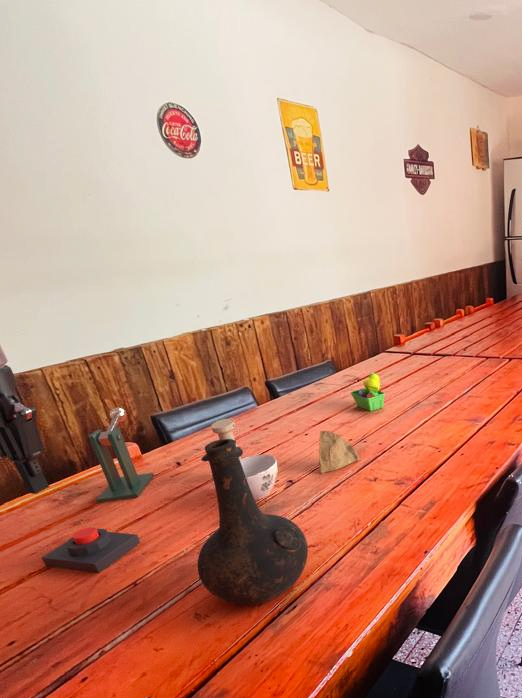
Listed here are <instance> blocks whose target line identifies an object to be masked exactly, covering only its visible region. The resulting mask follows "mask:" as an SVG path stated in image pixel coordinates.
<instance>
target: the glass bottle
mask: <svg viewBox="0 0 522 698" xmlns="http://www.w3.org/2000/svg"><path fill="white" fill-rule="evenodd" d="M236 444H237V440H236V439H235V440H233V439H222V440H220V439H218V440H213V441H211V442H209V443H208V444H206V445H205V446H204V451H205V455H203V456H202V458H201V462H208V463H209V468H210V471H211V474H212V480H213V484H214V488H215V493H216V499H217V500H216V501H217V506H218V514H219V515H218V517H219V526H218V529H217V530H215V531H214V532H213V533H212V534H211V535H210V536H208V538H207V539H206V540H205V542H204V543H203V545H202V546H201V548H200V551H199V554H198V558H197V573H198V577H199V579H200V581H201V583H202V585H203V587H204V588H205V589H206V591H208V592H209V593H210V594H211V595H213V596H214V597H215V598H217V599H219V600H221V601H223V602H225V603H228V604H231V605H237V606H255V605H260V604H264V603H267V602H270V601H272V600H274V599H276V598H278V597H281V596H282V595H283V594H285V593H286V592H287V591H289V590H290V589H291V588H292V587H293V586H294V585H295V584H296V583H297V581H298V580H299V579H300V577H301V575H302V573H303V571H304V569H305V568H306V564H307V559H308V555H309V554H308V552H309V550H308V549H309V546H308V541H307V538H306V536H305V533H304V532H303V530H302V529H301V527H299V526H298V524H296V523H295V522H294V521H292V520H290V518H286V517H284V516H281V515H276V514H270V513H263V512H262V511H261V509H260V508H259V505H258V504H257V502H256V501H257V500H255V499H254V497H253V494H252V492H251V490H250V487H249V484H248V482H247V479H246V477H245V474H244V471H243V468H242V465H241V462H240V459H239V457H240V456H241V457H242V456H243V454H244V450H243V449H242V448H241V447H239V446H237V447H236Z"/></svg>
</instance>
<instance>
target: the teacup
mask: <svg viewBox="0 0 522 698" xmlns="http://www.w3.org/2000/svg"><path fill="white" fill-rule="evenodd" d="M240 462H241V465H242V468H243V471H244V474H245V477H246V479H247V482H248V484H249V487H250V490H251V492H252V494H253V497H254V499H255V501H257V500H261V499H263V498H265V497H267V496H268V495H269V494H270V492H271V491H272V489H273V488H274V486H275V485H276V482H277V480H278V479H277V477H278V461H277V458H275V456H274V455H269V454H257V455H250V456H246V457H243V458H241V459H240Z"/></svg>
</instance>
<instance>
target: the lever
mask: <svg viewBox="0 0 522 698" xmlns="http://www.w3.org/2000/svg"><path fill="white" fill-rule="evenodd" d="M109 417H110V419H111V421H110V424H109V426H108V427H107V430H106V431H102V432H101V434H100V436H99V438H98V440H99V442H100V444H101V445H102V447H105V446H108V447H112V445H111V442H110V440H109V437H108V435H107V434H109V433H110V432H111V431H112V430H113V429H114V428H118V424H119V423H121V422H123V421H126V419H127V418H128V413H127V410H125V409H124V408H122V407H114V408H112V409H111V410H110V411H109Z"/></svg>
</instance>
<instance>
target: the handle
mask: <svg viewBox="0 0 522 698" xmlns="http://www.w3.org/2000/svg"><path fill="white" fill-rule="evenodd" d="M210 428H211V431H212V433H214V434H217V435H218V438H219V439H218V440H222V439H233V440H235V441H236V439H235V438H236V437H235V436H234V432H233V430H234V429H235V428H236V424H235V420H234V418H223V419H219V420H216V421H214V422H213V423H212V424H211V425H210ZM236 447H238V444H237V443H236ZM239 459H242V455H241V456H240V457H239Z"/></svg>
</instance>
